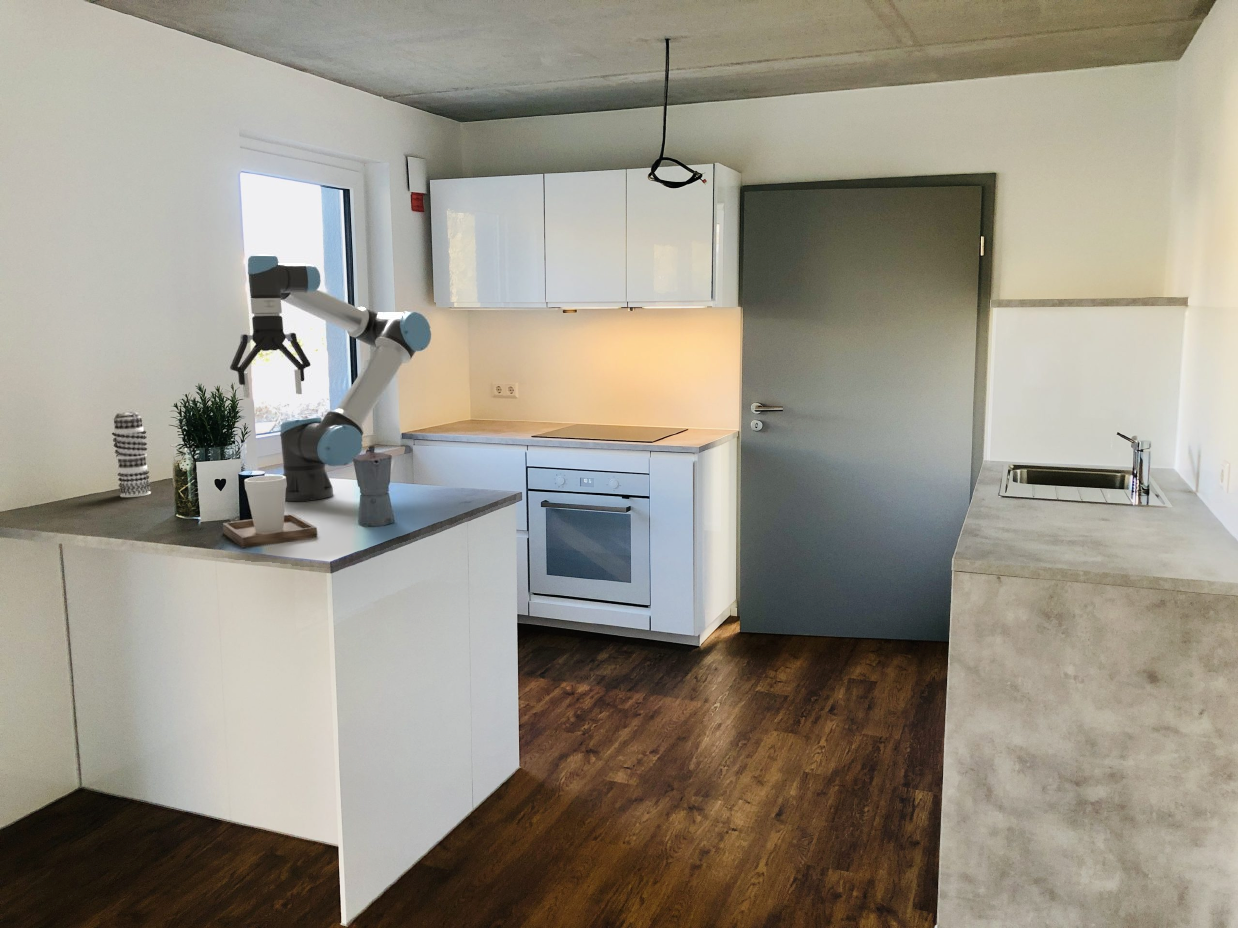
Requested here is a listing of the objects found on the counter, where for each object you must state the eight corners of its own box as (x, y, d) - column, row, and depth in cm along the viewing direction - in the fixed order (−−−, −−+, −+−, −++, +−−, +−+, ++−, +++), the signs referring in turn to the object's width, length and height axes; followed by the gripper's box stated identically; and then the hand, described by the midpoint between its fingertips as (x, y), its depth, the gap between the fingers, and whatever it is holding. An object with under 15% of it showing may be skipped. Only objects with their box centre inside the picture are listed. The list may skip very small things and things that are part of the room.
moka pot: (363, 530, 236) (358, 450, 232) (349, 519, 249) (344, 443, 246) (401, 526, 240) (397, 447, 237) (386, 515, 253) (381, 440, 250)
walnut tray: (293, 523, 246) (292, 513, 245) (317, 537, 229) (316, 527, 229) (223, 533, 236) (222, 523, 236) (243, 548, 220) (242, 537, 219)
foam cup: (275, 536, 227) (271, 482, 225) (241, 535, 229) (236, 481, 227) (297, 527, 236) (293, 475, 234) (263, 526, 238) (259, 474, 236)
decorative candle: (148, 496, 288) (140, 413, 284) (114, 498, 286) (106, 415, 282) (155, 491, 297) (147, 410, 293) (123, 492, 295) (114, 412, 291)
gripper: (220, 316, 242) (227, 399, 245) (318, 314, 256) (324, 393, 259) (213, 316, 248) (220, 397, 252) (310, 314, 262) (315, 391, 266)
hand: (273, 395), depth 256 cm, fingers open, 13 cm apart
